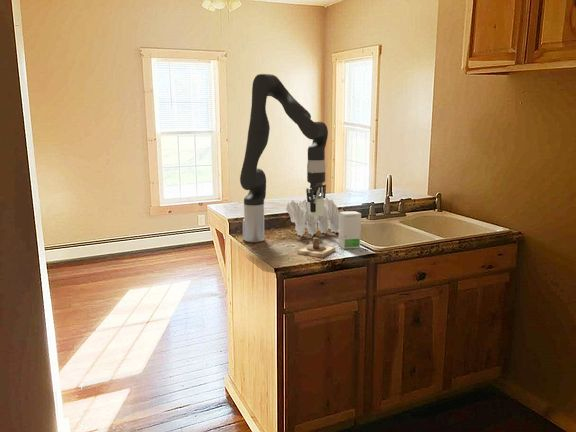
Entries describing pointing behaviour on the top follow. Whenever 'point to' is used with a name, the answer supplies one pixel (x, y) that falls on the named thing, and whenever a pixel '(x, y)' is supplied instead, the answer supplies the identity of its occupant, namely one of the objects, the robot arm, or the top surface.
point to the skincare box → (349, 229)
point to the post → (316, 249)
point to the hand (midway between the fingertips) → (316, 210)
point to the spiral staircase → (314, 217)
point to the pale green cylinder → (318, 207)
